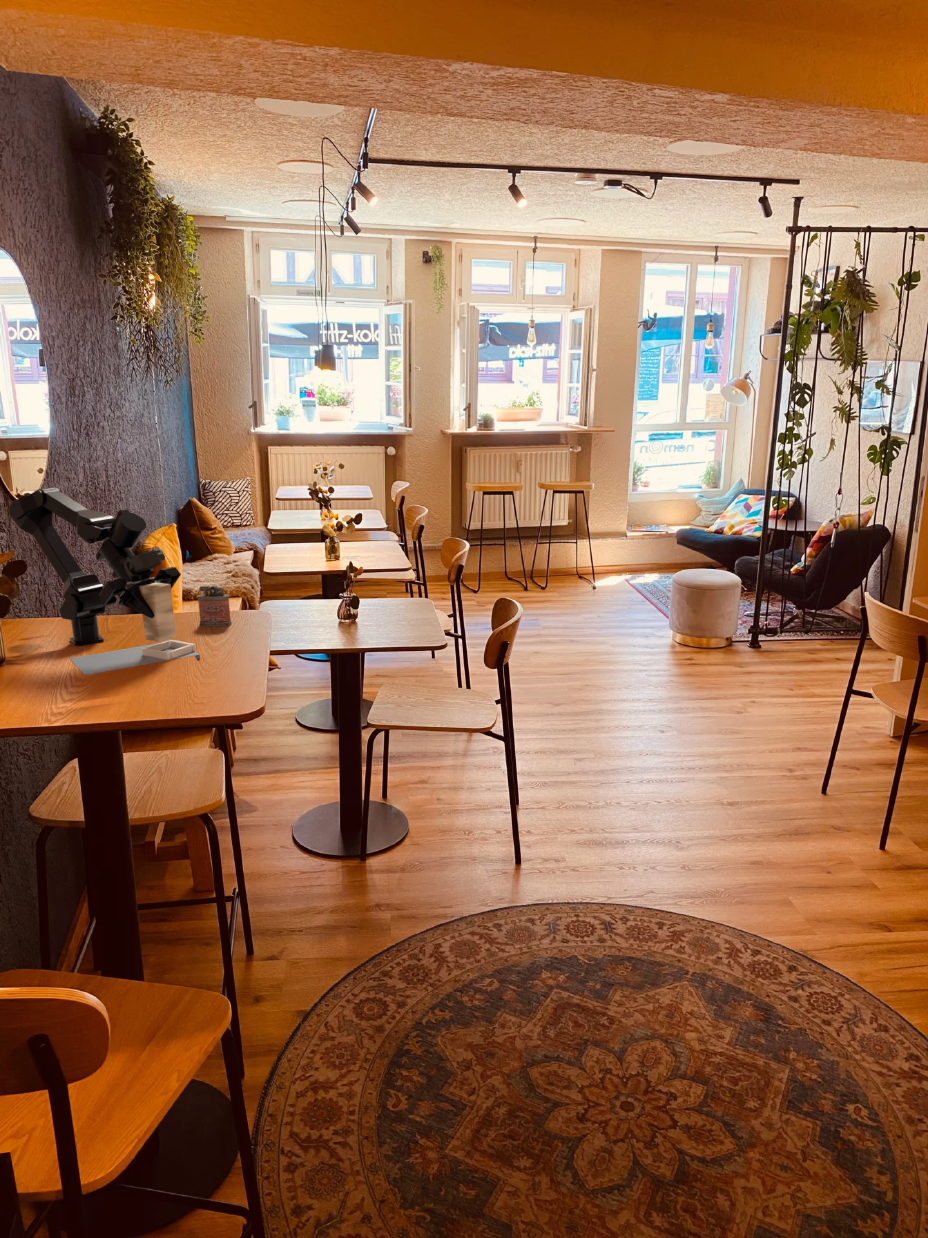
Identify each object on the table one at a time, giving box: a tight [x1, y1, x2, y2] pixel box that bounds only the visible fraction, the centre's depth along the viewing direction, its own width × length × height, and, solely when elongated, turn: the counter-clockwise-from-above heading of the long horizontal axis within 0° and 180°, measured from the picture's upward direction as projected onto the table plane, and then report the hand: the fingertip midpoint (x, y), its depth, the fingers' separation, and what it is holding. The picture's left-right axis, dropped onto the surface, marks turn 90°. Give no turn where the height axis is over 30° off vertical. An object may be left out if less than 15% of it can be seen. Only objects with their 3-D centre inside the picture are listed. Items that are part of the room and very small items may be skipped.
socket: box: [142, 639, 197, 661], centre depth 200 cm, size 8×8×2 cm
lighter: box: [196, 584, 232, 627], centre depth 226 cm, size 8×3×10 cm, turn 84°
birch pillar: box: [139, 583, 177, 643], centre depth 199 cm, size 5×5×12 cm
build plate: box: [69, 639, 201, 676], centre depth 198 cm, size 15×24×1 cm, turn 124°
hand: (162, 614), depth 198 cm, fingers closed on birch pillar, 5 cm apart
